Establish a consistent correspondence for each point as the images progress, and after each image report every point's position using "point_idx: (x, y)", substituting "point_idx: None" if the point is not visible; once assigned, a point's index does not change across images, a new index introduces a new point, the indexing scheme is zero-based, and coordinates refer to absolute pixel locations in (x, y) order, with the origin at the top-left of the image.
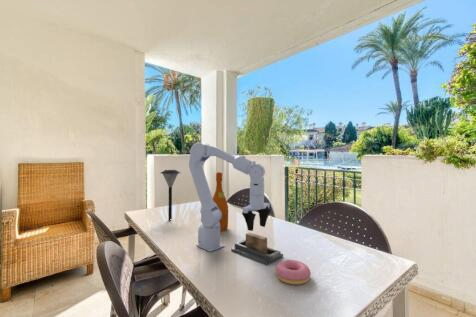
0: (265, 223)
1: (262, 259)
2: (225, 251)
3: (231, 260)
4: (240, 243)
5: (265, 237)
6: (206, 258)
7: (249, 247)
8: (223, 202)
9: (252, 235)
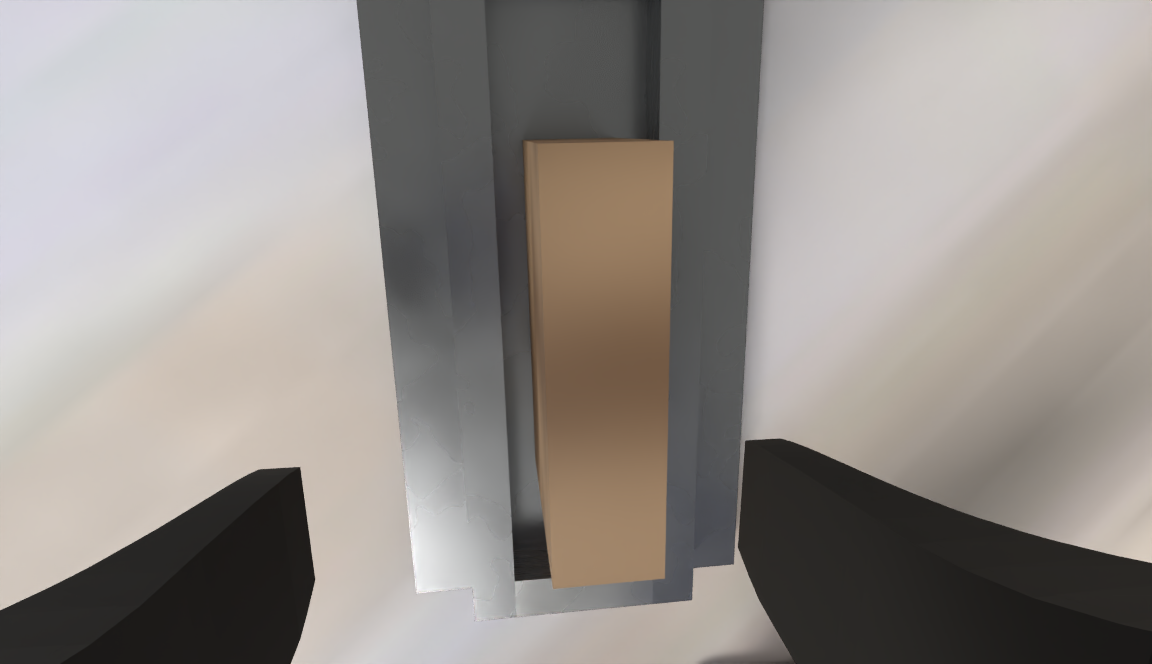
0: (229, 494)
1: (730, 53)
2: None
3: (916, 357)
4: None
5: (546, 186)
6: None
7: None
8: None
9: (645, 441)
